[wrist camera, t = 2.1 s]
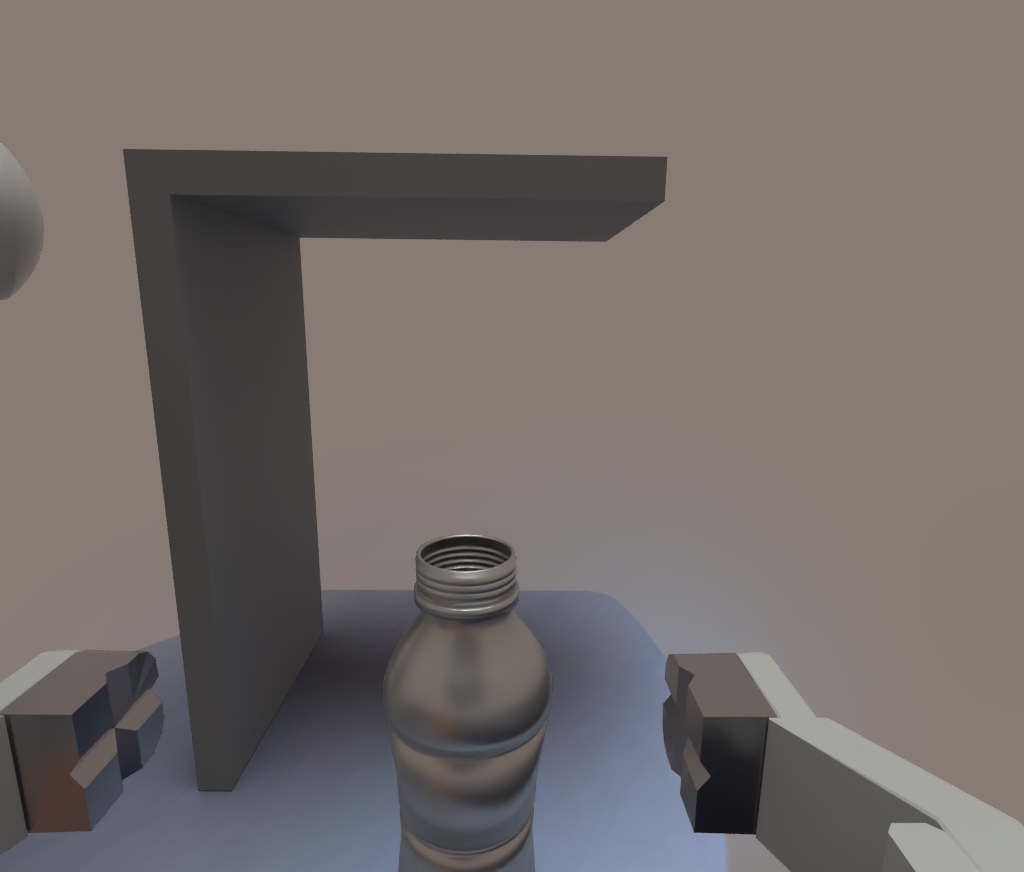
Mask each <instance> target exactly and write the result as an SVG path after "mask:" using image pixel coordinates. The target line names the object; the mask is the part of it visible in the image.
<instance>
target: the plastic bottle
mask: <svg viewBox="0 0 1024 872" xmlns="http://www.w3.org/2000/svg"><path fill="white" fill-rule="evenodd" d="M416 578H417V581H416V583H415V586H414V598H415V603H416V605H417V606H418V608H419V609H420V610H421V612H420V614H419V615H418V616H417V617H416V619H415V620H414V621H413V622H412V624H411V625H410V626H409V627H408V629H407V630H406V631H405V633H404V634H403V636H402V637H401V639H400V641H399V642H398V644H397V645H396V647H395V649H394V650H393V652H392V655H391V657H390V659H389V662H388V666H387V669H386V672H385V676H384V679H383V688H382V691H383V700H384V710H385V714H386V720H387V725H388V730H389V735H390V740H391V745H392V750H393V756H394V761H395V766H396V771H397V783H398V795H399V804H400V820H401V842H400V855H399V868H398V872H535V862H534V846H533V830H532V822H533V812H534V801H535V791H536V780H537V770H538V765H539V760H540V755H541V750H542V745H543V740H544V735H545V730H546V726H547V721H548V716H549V711H550V706H551V696H552V689H553V684H552V675H551V672H550V668H549V665H548V661H547V658H546V655H545V652H544V649H543V648H542V647H541V645H540V644H539V642H538V641H537V639H536V638H535V636H534V635H533V633H532V632H531V630H530V629H529V628H528V626H527V625H526V624H525V623H524V621H523V620H522V619H521V618H520V617H519V616H518V614H517V613H516V612H515V611H514V610H513V608H514V607H515V606H516V604H517V602H518V601H519V584H518V582H517V580H516V555H515V550H514V548H513V547H512V546H511V545H510V544H509V543H507V542H506V541H503V540H501V539H498V538H494V537H491V536H485V535H477V534H458V535H450V536H445V537H439V538H436V539H433V540H430V541H428V542H426V543H424V544H423V545H421V547H420V548H419V549H418V550H417V556H416Z"/></svg>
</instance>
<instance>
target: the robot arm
mask: <svg viewBox="0 0 1024 872" xmlns="http://www.w3.org/2000/svg"><path fill="white" fill-rule="evenodd" d="M43 237H44V224H43V216H42V211H41V208H40V204H39V201H38V198H37V195H36V192H35V190H34V188H33V186H32V184H31V182H30V180H29V178H28V177H27V175H26V174H25V172H24V170H23V169H22V167H21V166H20V164H19V163H18V162H17V161H16V159H15V158H14V157H13V156H12V154H11V153H10V152H9V151H8V150H7V149H6V148H5V147H4V146H3V145H2V144H1V142H0V300H5V299H8V298H10V297H11V296H12V295H13V294H15V293H16V292H17V291H18V290H19V289H20V288H21V287H22V286H23V285H24V283H25V282H26V281H27V280H28V279H29V277H30V276H31V274H32V272H33V271H34V269H35V267H36V265H37V263H38V260H39V258H40V254H41V250H42V247H43ZM158 677H159V675H158V670H157V664H156V659H155V657H154V656H152V655H151V654H150V653H149V652H145V651H101V650H85V651H84V650H53V651H46V652H43V653H41V654H40V655H39V656H37V657H36V658H34V659H33V660H31V661H30V662H29V663H27V664H26V665H25V666H23V667H22V668H20V669H19V670H18V671H16V672H15V673H13V674H12V675H11V676H9V677H8V678H7V679H5V680H4V681H2V682H1V683H0V855H1V854H3V853H4V852H5V851H7V850H8V849H10V848H11V847H13V846H14V845H16V844H17V843H19V842H20V841H21V840H23V839H24V838H26V837H27V836H28V833H40V832H75V831H92V830H93V829H94V827H95V826H96V825H97V824H98V822H99V821H100V820H101V819H102V817H103V816H104V815H105V814H106V813H107V811H108V810H109V809H110V808H111V806H112V805H113V804H114V803H115V801H116V800H117V799H118V798H119V797H120V795H121V794H122V793H123V785H122V780H123V779H125V778H126V777H128V776H130V775H132V774H133V773H135V772H137V771H138V770H140V769H142V768H143V767H144V765H145V764H146V763H147V761H148V760H149V759H150V757H151V756H152V755H153V754H154V752H155V749H156V747H157V744H158V742H159V739H160V737H161V734H162V728H163V719H164V714H163V706H162V702H161V700H160V699H159V698H158V697H157V696H156V695H155V694H154V693H153V691H152V690H151V688H152V686H153V685H154V683H155V682H156V680H157V679H158ZM665 680H666V682H667V685H668V687H669V689H670V692H671V695H670V696H669V698H668V699H667V700H666V701H665V702H664V704H663V734H664V744H665V748H666V753H667V757H668V760H669V763H670V766H671V769H672V770H673V771H674V772H675V773H677V774H678V775H679V776H680V777H681V788H680V795H681V797H682V800H683V803H684V806H685V808H686V811H687V814H688V817H689V820H690V822H691V825H692V828H693V831H694V833H725V834H755V835H756V838H757V839H758V840H759V841H760V842H761V843H762V844H763V845H764V846H765V847H766V848H767V849H768V850H769V851H770V852H771V853H772V854H773V855H774V856H775V857H776V858H777V859H778V860H779V861H780V862H781V863H783V864H784V865H785V866H786V867H787V868H788V869H789V870H790V871H791V872H1024V826H1023V825H1022V824H1021V823H1020V822H1018V821H1017V820H1015V819H1013V818H1012V817H1010V816H1008V815H1006V814H1004V813H1002V812H1000V811H999V810H997V809H995V808H993V807H991V806H989V805H988V804H986V803H984V802H982V801H980V800H978V799H977V798H975V797H973V796H971V795H969V794H967V793H965V792H964V791H962V790H960V789H958V788H956V787H954V786H952V785H951V784H949V783H947V782H945V781H943V780H941V779H940V778H938V777H936V776H934V775H932V774H930V773H928V772H927V771H925V770H923V769H921V768H919V767H917V766H915V765H913V764H912V763H910V762H908V761H906V760H904V759H903V758H901V757H899V756H897V755H895V754H893V753H891V752H889V751H888V750H886V749H884V748H882V747H880V746H879V745H877V744H875V743H873V742H871V741H869V740H867V739H866V738H863V737H862V736H860V735H858V734H856V733H854V732H853V731H851V730H849V729H847V728H845V727H843V726H842V725H840V724H838V723H836V722H834V721H832V720H830V719H829V718H817V717H816V715H815V714H814V713H813V712H812V710H811V709H810V708H809V706H808V705H807V704H806V703H805V701H804V700H803V698H802V697H801V696H800V695H799V693H798V692H797V691H796V690H795V688H794V687H793V685H792V684H791V683H790V682H789V680H788V679H787V678H786V676H785V675H784V674H783V672H782V671H781V670H780V668H779V667H778V666H777V665H776V663H775V662H774V661H773V659H772V658H771V657H770V655H768V654H766V653H764V652H743V653H713V654H712V653H710V654H670V655H669V656H668V659H667V663H666V672H665Z"/></svg>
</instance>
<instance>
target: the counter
mask: <svg viewBox="0 0 1024 872" xmlns="http://www.w3.org/2000/svg"><path fill="white" fill-rule="evenodd" d="M123 153H124V162H125V170H126V179H127V187H128V196H129V204H130V213H131V221H132V230H133V238H134V247H135V255H136V264H137V272H138V281H139V289H140V298H141V306H142V314H143V323H144V332H145V340H146V349H147V357H148V365H149V374H150V383H151V391H152V399H153V408H154V417H155V424H156V433H157V442H158V451H159V459H160V467H161V476H162V485H163V493H164V500H165V501H164V502H165V510H166V519H167V526H168V536H169V544H170V552H171V560H172V570H173V578H174V586H175V595H176V603H177V612H178V621H179V629H180V638H181V646H182V655H183V663H184V672H185V680H186V689H187V697H188V706H189V714H190V723H191V731H192V740H193V748H194V757H195V765H196V773H197V782H198V790H199V791H232V789H233V787H234V786H235V784H236V782H237V781H238V779H239V777H240V775H241V774H242V772H243V770H244V768H245V767H246V765H247V763H248V761H249V760H250V758H251V756H252V755H253V753H254V751H255V749H256V748H257V746H258V744H259V742H260V741H261V739H262V737H263V735H264V734H265V732H266V730H267V729H268V727H269V725H270V723H271V722H272V720H273V718H274V716H275V715H276V713H277V711H278V709H279V708H280V706H281V704H282V703H283V701H284V699H285V697H286V696H287V694H288V692H289V690H290V689H291V687H292V685H293V683H294V682H295V680H296V678H297V677H298V675H299V673H300V671H301V670H302V668H303V666H304V664H305V663H306V661H307V659H308V657H309V656H310V654H311V652H312V651H313V649H314V647H315V645H316V644H317V642H318V640H319V638H320V637H321V635H322V633H323V617H322V601H321V585H320V568H319V551H318V536H317V521H316V520H317V519H316V502H315V486H314V470H313V455H312V454H313V453H312V436H311V420H310V405H309V387H308V371H307V355H306V338H305V322H304V305H303V288H302V272H301V256H300V239H299V238H303V237H305V238H306V237H307V238H372V239H447V240H450V239H451V240H520V241H521V240H522V241H523V240H524V241H525V240H527V241H595V242H596V241H597V242H606V241H608V240H609V239H611V238H612V237H613V236H615V235H616V234H618V233H619V232H621V231H622V230H624V229H625V228H626V227H628V226H629V225H631V224H632V223H633V222H635V221H636V220H638V219H640V218H641V217H642V216H644V215H645V214H647V213H648V212H650V211H651V210H653V209H654V208H655V207H657V206H658V205H660V204H661V203H663V202H664V201H665V186H666V185H665V184H666V170H667V157H637V156H636V157H634V156H566V155H496V154H493V155H492V154H491V155H490V154H427V153H423V154H422V153H358V152H357V153H355V152H350V153H349V152H287V151H285V152H284V151H282V152H281V151H218V150H217V151H215V150H148V149H145V150H144V149H140V150H139V149H123Z"/></svg>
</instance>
